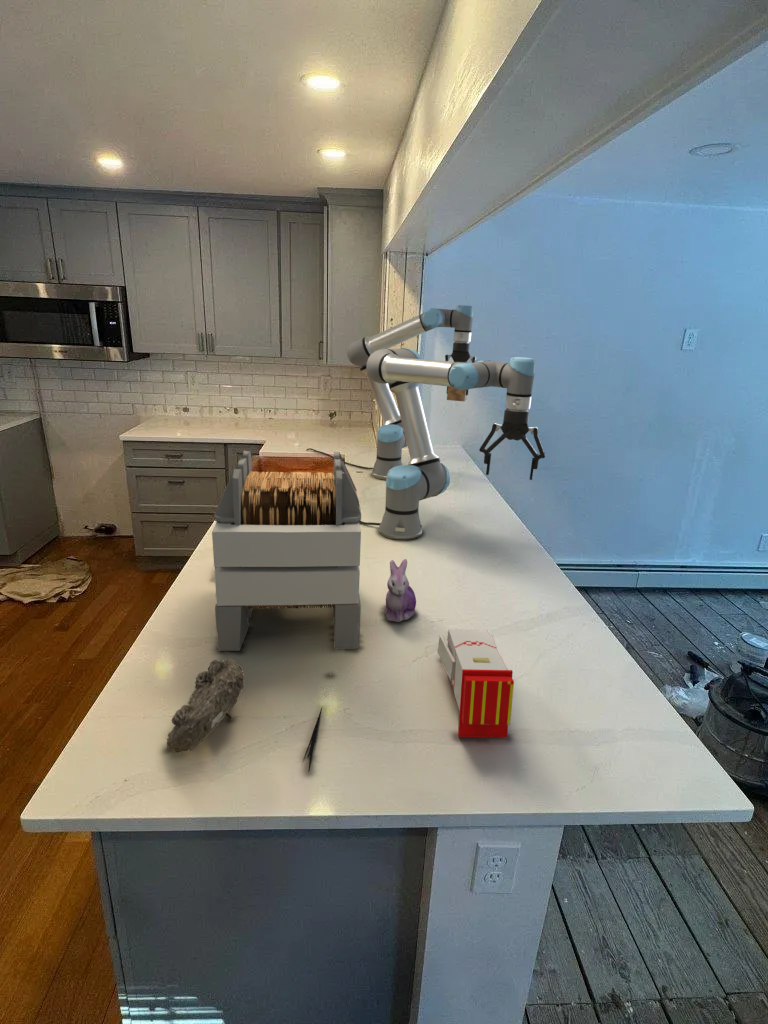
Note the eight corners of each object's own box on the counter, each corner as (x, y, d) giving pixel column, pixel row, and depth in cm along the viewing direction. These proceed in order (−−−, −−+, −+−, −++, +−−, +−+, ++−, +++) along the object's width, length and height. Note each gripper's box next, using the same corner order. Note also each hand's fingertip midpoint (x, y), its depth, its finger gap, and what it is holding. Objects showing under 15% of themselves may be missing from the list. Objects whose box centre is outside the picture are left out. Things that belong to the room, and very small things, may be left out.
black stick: (331, 679, 122) (336, 673, 122) (307, 777, 96) (313, 769, 95) (324, 675, 122) (329, 669, 121) (298, 772, 95) (304, 764, 95)
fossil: (192, 660, 117) (244, 628, 112) (224, 691, 120) (276, 661, 115) (142, 746, 98) (202, 712, 93) (182, 779, 101) (242, 748, 96)
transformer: (235, 584, 159) (228, 441, 145) (352, 582, 163) (356, 443, 149) (215, 653, 127) (203, 479, 113) (360, 649, 131) (366, 481, 117)
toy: (488, 613, 130) (523, 677, 101) (484, 667, 133) (517, 744, 104) (435, 612, 130) (455, 676, 101) (432, 666, 133) (451, 743, 103)
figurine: (392, 627, 141) (395, 572, 136) (374, 608, 149) (376, 556, 144) (425, 619, 145) (429, 566, 140) (405, 601, 154) (408, 550, 149)
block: (446, 400, 256) (448, 381, 254) (449, 397, 264) (450, 379, 261) (464, 401, 255) (466, 382, 252) (466, 398, 263) (468, 380, 260)
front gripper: (474, 408, 173) (468, 474, 180) (559, 415, 167) (549, 484, 174) (477, 404, 180) (471, 468, 187) (559, 411, 174) (549, 477, 181)
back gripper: (437, 341, 250) (433, 393, 257) (485, 344, 245) (479, 397, 253) (439, 340, 257) (435, 391, 264) (486, 343, 252) (481, 394, 260)
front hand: (509, 476), depth 181 cm, fingers open, 13 cm apart
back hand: (457, 394), depth 259 cm, fingers closed on block, 8 cm apart
